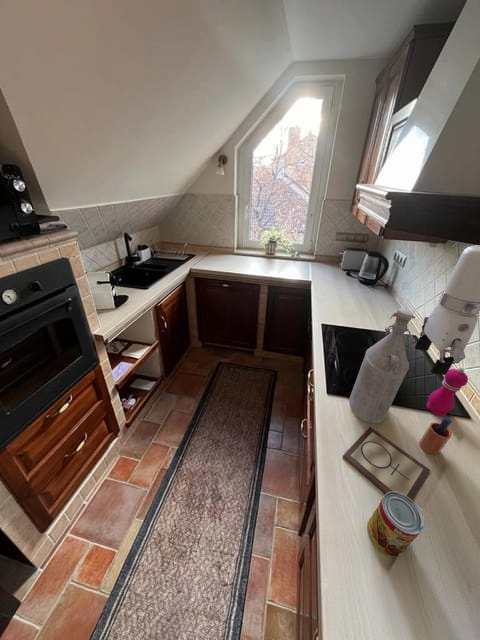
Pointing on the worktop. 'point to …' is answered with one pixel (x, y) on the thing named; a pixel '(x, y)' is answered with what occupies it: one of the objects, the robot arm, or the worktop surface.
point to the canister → (382, 372)
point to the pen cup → (434, 440)
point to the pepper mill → (447, 392)
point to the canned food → (395, 523)
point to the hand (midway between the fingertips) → (428, 360)
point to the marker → (443, 426)
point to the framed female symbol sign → (386, 464)
